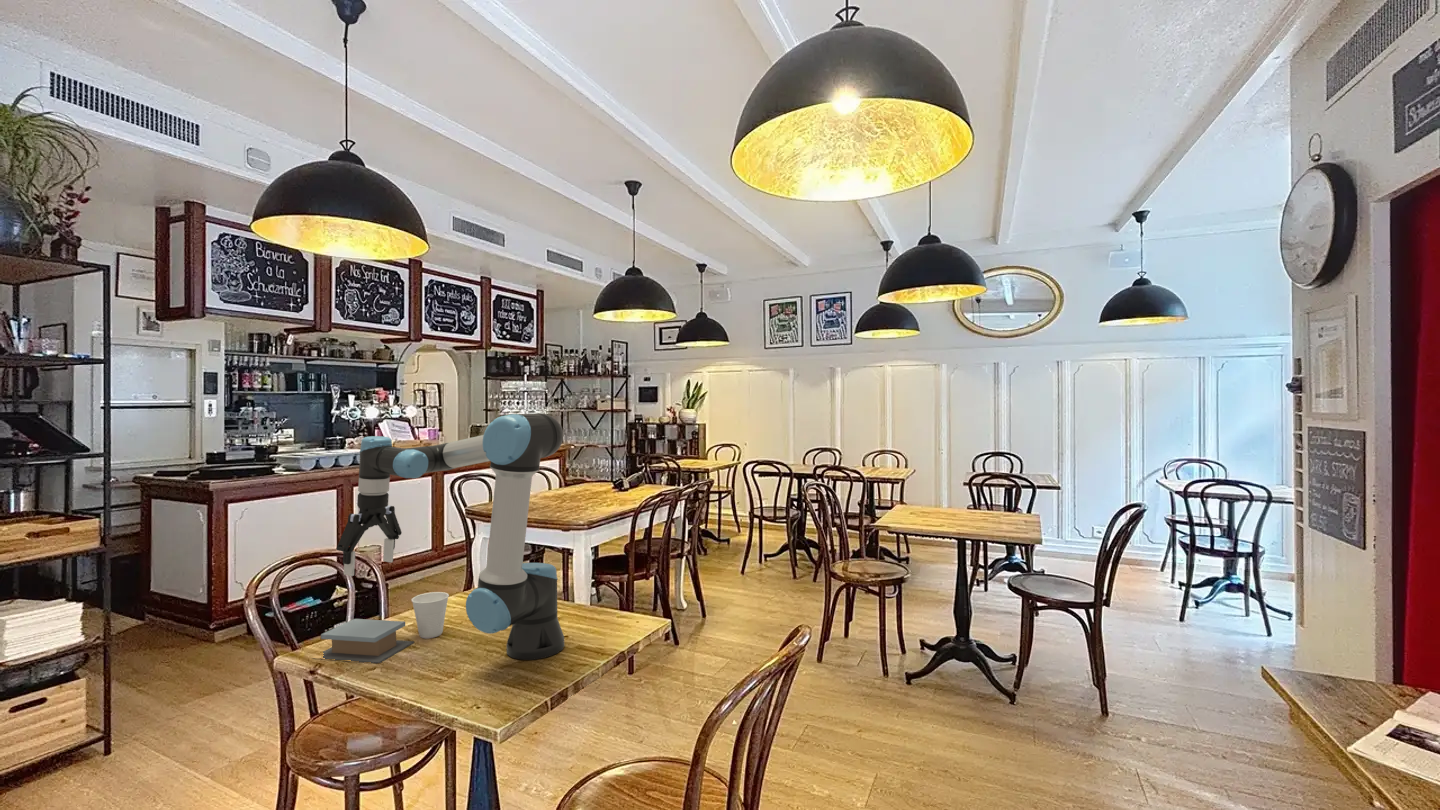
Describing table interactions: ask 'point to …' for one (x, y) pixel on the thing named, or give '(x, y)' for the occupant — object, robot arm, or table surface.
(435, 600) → the cup
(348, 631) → the sheet
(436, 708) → the table surface
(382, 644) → the brown block on plate
